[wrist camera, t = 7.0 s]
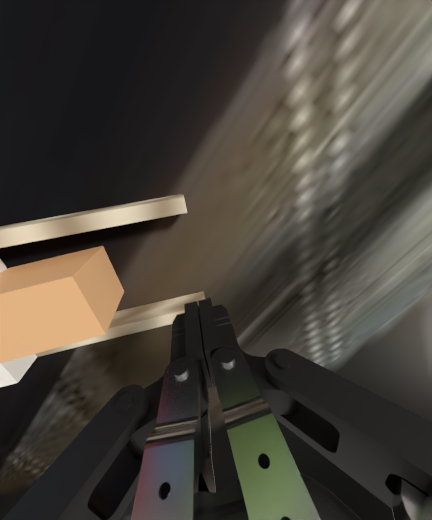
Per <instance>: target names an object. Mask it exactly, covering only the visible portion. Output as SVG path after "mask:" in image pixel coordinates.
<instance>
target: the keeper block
mask: <svg viewBox="0 0 432 520" xmlns="http://www.w3.org/2000/svg"><path fill="white" fill-rule="evenodd" d="M123 293H124V290H123V288H122V286H121V284H120V281H119V279H118V277H117V275H116V273H115V271H114V269H113V266H112V264H111V262H110V260H109V258H108V256H107V254H106V251H105V249H104V247H103V246H100V247H95V248H91V249H87V250H83V251H79V252H75V253H70V254H66V255H62V256H58V257H54V258H49V259H45V260H41V261H37V262H33V263H28V264H24V265H20V266H16V267H12V268H8V269H6V270H4V271H3V272H1V273H0V363H4V362H7V361H11V360H15V359H18V358H22V357H25V356H29V355H33V354H36V353H40V352H43V351H47V350H51V349H54V348H58V347H62V346H65V345H69V344H72V343H76V342H80V341H83V340H87V339H90V338H94V337H98V336H101V335H105V334H106V332H107V330H108V328H109V325H110V323H111V321H112V319H113V316H114V314H115V312H116V309H117V307H118V305H119V302H120V300H121V298H122V295H123Z"/></svg>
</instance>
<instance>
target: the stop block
mask: <svg viewBox="0 0 432 520" xmlns="http://www.w3.org/2000/svg"><path fill="white" fill-rule="evenodd" d="M6 269H7V268H6V266H5V265H4V263H3V262H2V260H1V259H0V273H1V272H3V271H4V270H6ZM36 358H37V356H36V354H33V355H29V356H25V357H22V358H18V359H15V360H11V361H7V362H4V363H0V387H3V386H7V385H11V384H15V383H18V382H19V381H20V379H21V378H22V377H23V375H24V374H25V373H26V371H27V370H28V369H29V367H30V366H31V365H32V363H33V362H34V361H35V359H36Z"/></svg>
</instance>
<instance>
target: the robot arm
mask: <svg viewBox="0 0 432 520" xmlns="http://www.w3.org/2000/svg"><path fill="white" fill-rule="evenodd" d="M198 305H199V306H198ZM184 309H185V313H182V314H178V315H176V317H175V319H174V321H173V326H172V330H173V331H172V344H171V362H170V364H169V365H168V367H167V368H166V370H165V373H164V376H163V377H162V378H161V379H159V380H158V381H157V382H155V383H153V384H152V385H150V386H148V387H146V388H145V389H143V388H142V387H141V386H139V385H129V386H126V387H124V388H122V389H121V390H119V391H118V392H117V393H116V394H115V395H114V396H113V397H112V398H111V399H110V400H109V402H108V403H107V404H106V405H105V406H104V407H103V408H102V409H101V410H100V412H99V413H98V414H97V415H96V416H95V417H94V418H93V419H92V420H91V422H90V423H89V424H88V425H87V426H86V427H85V428H84V429H83V430H82V432H81V433H80V434H79V435H78V436H77V437H76V438H75V439H74V440H73V442H72V443H71V444H70V445H69V446H68V447H67V448H66V449H65V450H64V451H63V453H62V454H61V455H60V456H59V457H58V458H57V459H56V460H55V461H54V463H53V464H52V465H51V466H50V467H49V468H48V469H47V470H46V471H45V473H44V474H43V475H42V476H41V477H40V478H39V479H38V480H37V481H36V483H35V484H34V485H33V486H32V487H31V488H30V489H29V490H28V491H27V493H26V494H25V495H24V496H23V497H22V498H21V499H20V500H19V501H18V502H17V504H16V505H15V506H14V507H13V508H12V509H11V510H10V511H9V512H8V514H7V515H6V516H5V517H4V518H3V519H2V520H120V518H121V516H122V515H123V513H124V511H125V509H126V508H127V506H128V504H129V503H130V501H131V499H132V498H133V496H134V494H135V493H136V497H135V502H134V507H133V513H132V518H131V520H361V519H360V518H359V517H358V516H357V515H356V514H355V513H354V512H353V511H351V510H350V509H349V508H348V507H347V506H346V505H345V504H344V503H343V502H341V501H340V500H339V499H338V498H337V497H336V496H335V495H334V494H333V493H332V492H330V491H329V490H328V489H327V488H325V487H324V486H323V485H321V484H320V483H318V482H316V481H315V480H313V479H311V478H309V477H307V476H305V475H302V474H300V473H299V470H298V468H297V466H296V464H295V461H294V460H293V457H292V455H291V453H290V450H289V449H288V446H287V444H286V442H285V439H284V437H283V435H282V433H281V431H280V428H279V426H278V424H277V422H276V419H277V420H278V421H280V422H281V423H282V424H284V425H285V426H286V427H287V428H289V429H290V430H291V431H293V432H294V433H295V434H296V435H298V436H299V437H300V438H301V439H303V440H304V441H305V442H307V443H308V444H309V445H310V446H312V447H313V448H314V449H316V450H317V451H318V452H319V453H321V454H322V455H323V456H325V457H326V458H327V459H329V460H330V461H331V462H332V463H334V464H335V465H336V466H338V467H339V468H340V469H341V470H343V471H344V472H345V473H347V474H348V475H349V476H350V477H352V478H353V479H354V480H356V481H357V482H358V483H359V484H361V485H362V486H363V487H365V488H366V489H367V490H368V491H370V492H371V493H372V494H374V495H375V496H376V497H378V498H379V499H380V500H381V501H383V502H384V503H385V504H387V505H388V506H389V507H390V508H392V510H393V516H394V519H395V520H432V422H431V421H429V420H427V419H424V418H422V417H421V416H419V415H417V414H415V413H413V412H410V411H409V410H407V409H405V408H403V407H401V406H399V405H397V404H395V403H393V402H391V401H389V400H387V399H385V398H383V397H381V396H379V395H377V394H375V393H373V392H371V391H369V390H367V389H365V388H363V387H361V386H359V385H357V384H355V383H353V382H351V381H349V380H347V379H345V378H343V377H341V376H339V375H337V374H335V373H334V372H332V371H330V370H328V369H326V368H324V367H322V366H320V365H318V364H316V363H314V362H312V361H310V360H308V359H306V358H304V357H302V356H300V355H298V354H296V353H294V352H292V351H290V350H287V349H275V350H272V351H270V352H269V353H268V354H267V356H266V357H256V356H251V355H248V354H246V353H244V352H243V351H242V350H241V349H240V347H239V345H238V343H237V339H236V336H235V333H234V330H233V327H232V324H231V321H230V318H229V315H228V312H227V309H226V308H224V307H223V306H222V305H217V306H213V307H212V303H211V299H210V298H207V299H203V300H199V301H198V302H197V301H194V302H190V303H185V304H184ZM210 375H211V376H210ZM211 378H212V382H213V386H217V390H218V394H219V399H220V403H221V407H222V411H223V415H224V419H225V423H226V427H227V431H228V435H229V440H230V443H231V448H232V452H233V455H234V460H235V464H236V468H237V472H238V476H239V480H238V481H236V482H235V483H234V484H232V485H231V486H230V487H228V488H227V489H226V490H224V491H222V492H220V493H216V491H215V481H214V473H213V467H212V454H211V433H210V413H209V404H208V403H209V399H208V391H207V388H210V387H212V383H211ZM275 418H276V419H275Z"/></svg>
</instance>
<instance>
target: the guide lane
mask: <svg viewBox="0 0 432 520" xmlns="http://www.w3.org/2000/svg"><path fill="white" fill-rule="evenodd" d="M183 213H187V209H186V204H185V200H184V196H183V194H179V195H174V196H168V197H163V198H157V199H151V200H146V201H140V202H134V203H129V204H123V205H118V206H112V207H106V208H101V209H95V210H90V211H84V212H78V213H73V214H67V215H62V216H56V217H50V218H45V219H39V220H34V221H28V222H22V223H17V224H11V225H5V226H0V248H3V247H8V246H14V245H19V244H24V243H29V242H35V241H40V240H45V239H51V238H56V237H61V236H67V235H72V234H77V233H82V232H88V231H93V230H98V229H104V228H109V227H114V226H120V225H125V224H130V223H135V222H141V221H146V220H151V219H157V218H162V217H167V216H172V215H178V214H183ZM203 299H205V296H204V292H198V293H194V294H190V295H185V296H181V297H177V298H173V299H168V300H164V301H160V302H155V303H151V304H147V305H142V306H138V307H134V308H130V309H125V310H121V311H117V312H115V314H114V316H113V319H112V321H111V323H110V325H109V328H108V330H107V332H106V334H105V335H101V336H98V337H94V338H90V339H87V340H83V341H80V342H76V343H72V344H69V345H65V346H62V347H58V348H54V349H51V350H47V351H43V352H40V353H36V356H37V357H39V356H43V355H47V354H51V353H55V352H59V351H63V350H67V349H71V348H75V347H79V346H84V345H88V344H92V343H96V342H100V341H104V340H108V339H112V338H116V337H120V336H124V335H128V334H132V333H136V332H140V331H144V330H149V329H153V328H157V327H161V326H165V325H169V324H173V321H174V319H175V317H176V315H178V314H182V313H185V309H184V304H185V303H190V302H194V301H197V302H198V301H199V300H203ZM198 306H199V305H198Z"/></svg>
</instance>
